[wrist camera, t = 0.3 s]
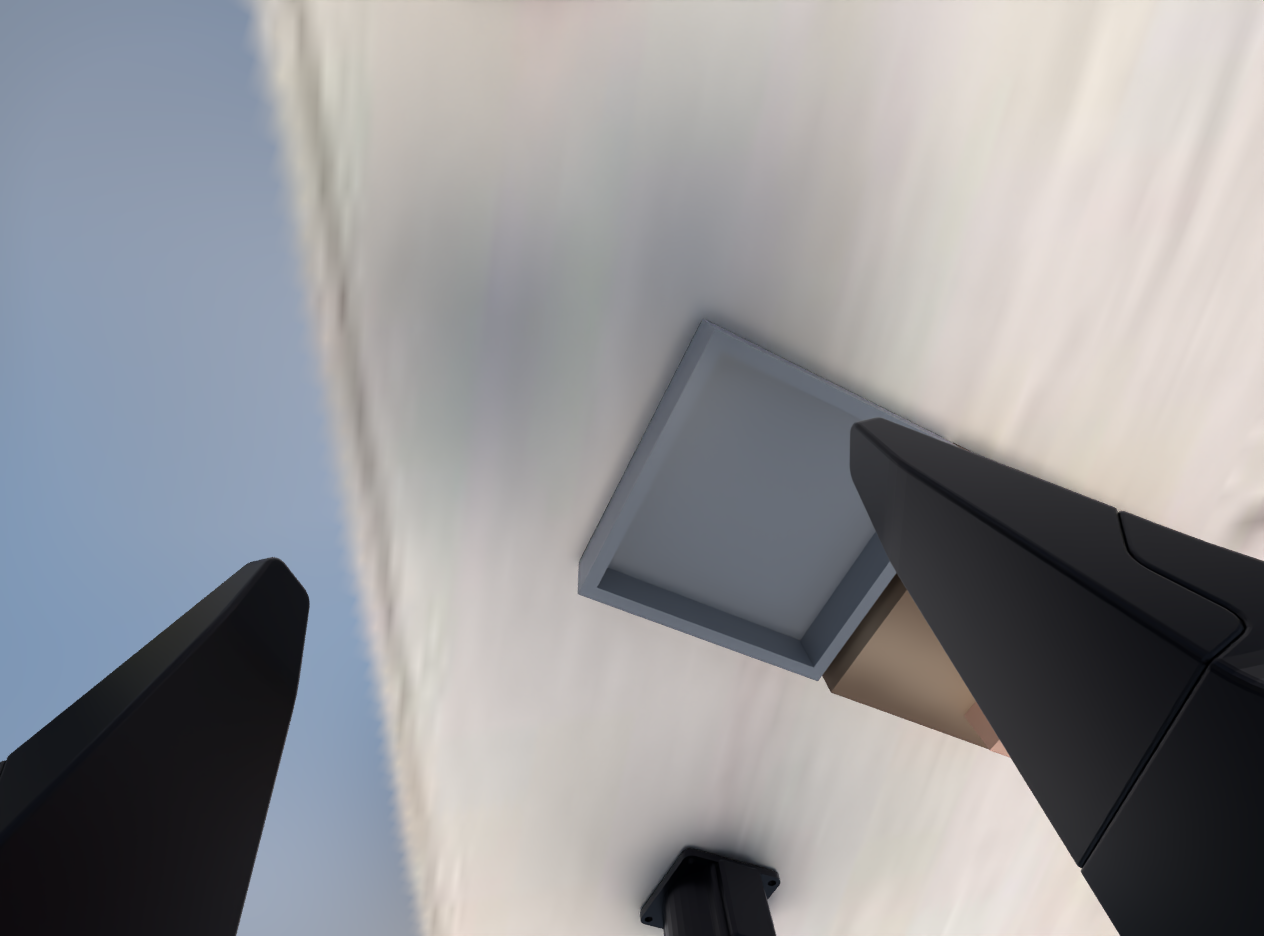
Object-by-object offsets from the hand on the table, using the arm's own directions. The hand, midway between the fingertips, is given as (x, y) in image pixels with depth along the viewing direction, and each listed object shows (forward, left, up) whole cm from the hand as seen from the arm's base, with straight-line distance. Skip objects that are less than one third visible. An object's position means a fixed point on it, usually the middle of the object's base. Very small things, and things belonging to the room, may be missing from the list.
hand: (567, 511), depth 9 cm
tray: (-3, -10, -15) cm, 19 cm away
